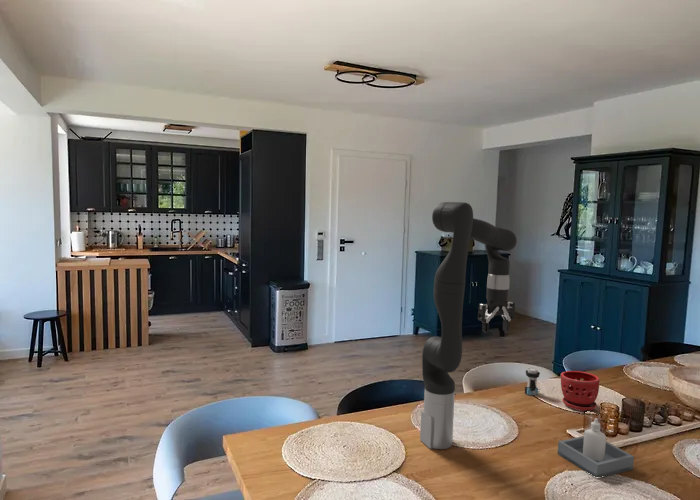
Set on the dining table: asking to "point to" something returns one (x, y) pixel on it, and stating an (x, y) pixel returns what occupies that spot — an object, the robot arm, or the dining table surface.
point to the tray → (611, 465)
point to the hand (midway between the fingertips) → (495, 331)
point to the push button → (532, 381)
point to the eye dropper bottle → (594, 442)
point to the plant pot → (579, 390)
